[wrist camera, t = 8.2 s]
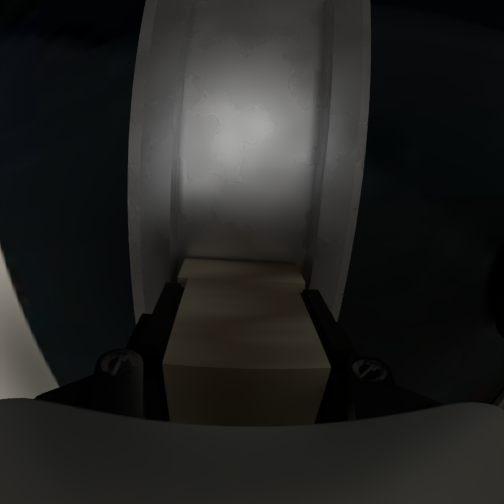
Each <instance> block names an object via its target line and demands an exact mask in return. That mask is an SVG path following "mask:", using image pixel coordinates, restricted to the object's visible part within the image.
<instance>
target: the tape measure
mask: <svg viewBox="0 0 504 504" xmlns="http://www.w3.org/2000/svg"><path fill="white" fill-rule="evenodd" d="M493 300H494V306H495V309H496V320H495V322H496V329H497V331H498V332H499V334H500V335H501V336H502V337H504V259H503V261H502V263H501V265H500V267H499V270H498V273H497V275H496V279H495V284H494V288H493Z"/></svg>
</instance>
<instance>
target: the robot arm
mask: <svg viewBox="0 0 504 504" xmlns="http://www.w3.org/2000/svg"><path fill="white" fill-rule="evenodd" d="M184 289H185V287H181V283H173V282H166V283H165V285H164V287H163V290H162V292H161V294H160V296H159V299H158V301H157V303H156V305H155V308H154V310H153V312H152V314H145V313H143V314H142V315H141V316H140V318H139V320H138V323H137V325H136V327H135V329H134V331H133V333H132V335H131V337H130V339H129V342H128V344H127V346H126V348H125V349H114V350H111V351H108V352H106V353H104V354H102V355H101V356H100V357H99V358H98V360H97V362H96V366H95V371H94V375H91V376H88V377H86V378H83V379H81V380H78V381H75V382H73V383H70V384H67V385H65V386H62V387H59V388H56V389H54V390H51V391H48V392H45V393H43V394H41V395H39V396H37V397H36V398H35V399H27V398H12V399H11V398H8V399H1V400H0V504H504V390H503V391H502V393H501V394H500V395H499V396H498V397H497V399H496V400H495V401H494V403H493V404H492V405H491V404H486V403H475V402H467V403H453V404H446V405H443V404H441V403H439V402H437V401H434V400H432V399H429V398H427V397H424V396H422V395H419V394H417V393H415V392H412V391H410V390H407V389H405V388H403V387H400V386H398V385H396V384H395V382H394V379H393V376H392V373H391V370H390V369H389V367H388V366H387V365H386V364H385V363H384V362H382V361H380V360H378V359H375V358H372V357H359V356H358V354H357V352H356V350H355V349H354V347H353V345H352V343H351V341H350V340H349V338H348V336H347V334H346V332H345V331H344V329H343V327H342V325H341V324H340V323H339V322H336V321H335V319H334V317H333V315H332V313H331V312H330V310H329V308H328V306H327V304H326V303H325V301H324V299H323V297H322V295H321V294H320V292H319V290H316V289H304V290H303V291H302V293H300V295H301V297H302V299H303V302H304V304H305V306H306V309H307V311H308V313H309V316H310V318H311V320H312V323H313V325H314V327H315V330H316V332H317V334H318V337H319V339H320V342H321V344H322V346H323V349H324V351H325V353H326V356H327V358H328V361H329V363H330V366H331V370H330V374H329V377H328V381H327V384H326V388H325V391H324V394H323V398H322V401H321V404H320V407H319V410H318V414H317V417H316V420H315V423H314V424H306V425H285V426H225V425H205V424H190V423H178V422H170V418H169V411H168V405H167V398H166V390H165V383H164V375H163V366H162V362H163V359H164V355H165V352H166V348H167V345H168V342H169V338H170V335H171V331H172V328H173V325H174V321H175V318H176V315H177V312H178V308H179V305H180V302H181V299H182V295H183V292H184Z"/></svg>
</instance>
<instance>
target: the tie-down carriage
mask: <svg viewBox="0 0 504 504" xmlns="http://www.w3.org/2000/svg"><path fill="white" fill-rule="evenodd" d="M178 283H181V287H185V289H184V292H183V295H182V299H181V302H180V305H179V308H178V312H177V315H176V318H175V321H174V325H173V328H172V331H171V335H170V338H169V342H168V345H167V348H166V352H165V355H164V359H163V362H162V366H163V375H164V383H165V390H166V398H167V405H168V411H169V418H170V422H178V423H190V424H205V425H225V426H285V425H306V424H314V423H315V420H316V417H317V414H318V410H319V407H320V404H321V401H322V398H323V394H324V391H325V388H326V384H327V381H328V377H329V374H330V370H331V366H330V363H329V361H328V358H327V356H326V353H325V351H324V349H323V346H322V344H321V342H320V339H319V337H318V334H317V332H316V330H315V327H314V325H313V323H312V320H311V318H310V316H309V313H308V311H307V309H306V306H305V304H304V302H303V299H302V297H301V295H300V293H302V291H303V290H304V289H305V281H304V279H303V277H302V275H301V273H300V271H299V269H298V267H297V265H296V264H286V263H265V262H244V261H225V260H205V259H186V258H185V260H184V262H183V265H182V267H181V270H180V272H179V275H178Z"/></svg>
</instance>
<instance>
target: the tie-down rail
mask: <svg viewBox="0 0 504 504" xmlns="http://www.w3.org/2000/svg"><path fill="white" fill-rule="evenodd" d="M370 66H371V15H370V0H146V3H145V8H144V14H143V19H142V25H141V30H140V37H139V43H138V50H137V57H136V65H135V73H134V82H133V91H132V102H131V115H130V130H129V152H128V230H129V252H130V268H131V281H132V292H133V303H134V312H135V321H136V325H137V323H138V320H139V318H140V316H141V315H142V314H143V313H145V314H152V312H153V310H154V308H155V305H156V303H157V301H158V299H159V296H160V294H161V292H162V290H163V287H164V285H165V283H166V282H173V283H178V275H179V272H180V270H181V267H182V265H183V262H184V260H185V258H186V259H205V260H225V261H244V262H265V263H286V264H296V265H297V267H298V269H299V271H300V273H301V275H302V277H303V279H304V281H305V289H316V290H319V292H320V294H321V295H322V297H323V299H324V301H325V303H326V304H327V306H328V308H329V310H330V312H331V313H332V315H333V317H334V319H335V321H336V322H337V321H338V317H339V312H340V308H341V303H342V298H343V294H344V289H345V284H346V279H347V274H348V268H349V263H350V257H351V252H352V246H353V240H354V234H355V228H356V221H357V214H358V208H359V200H360V193H361V185H362V177H363V168H364V159H365V148H366V137H367V125H368V111H369V93H370Z"/></svg>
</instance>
